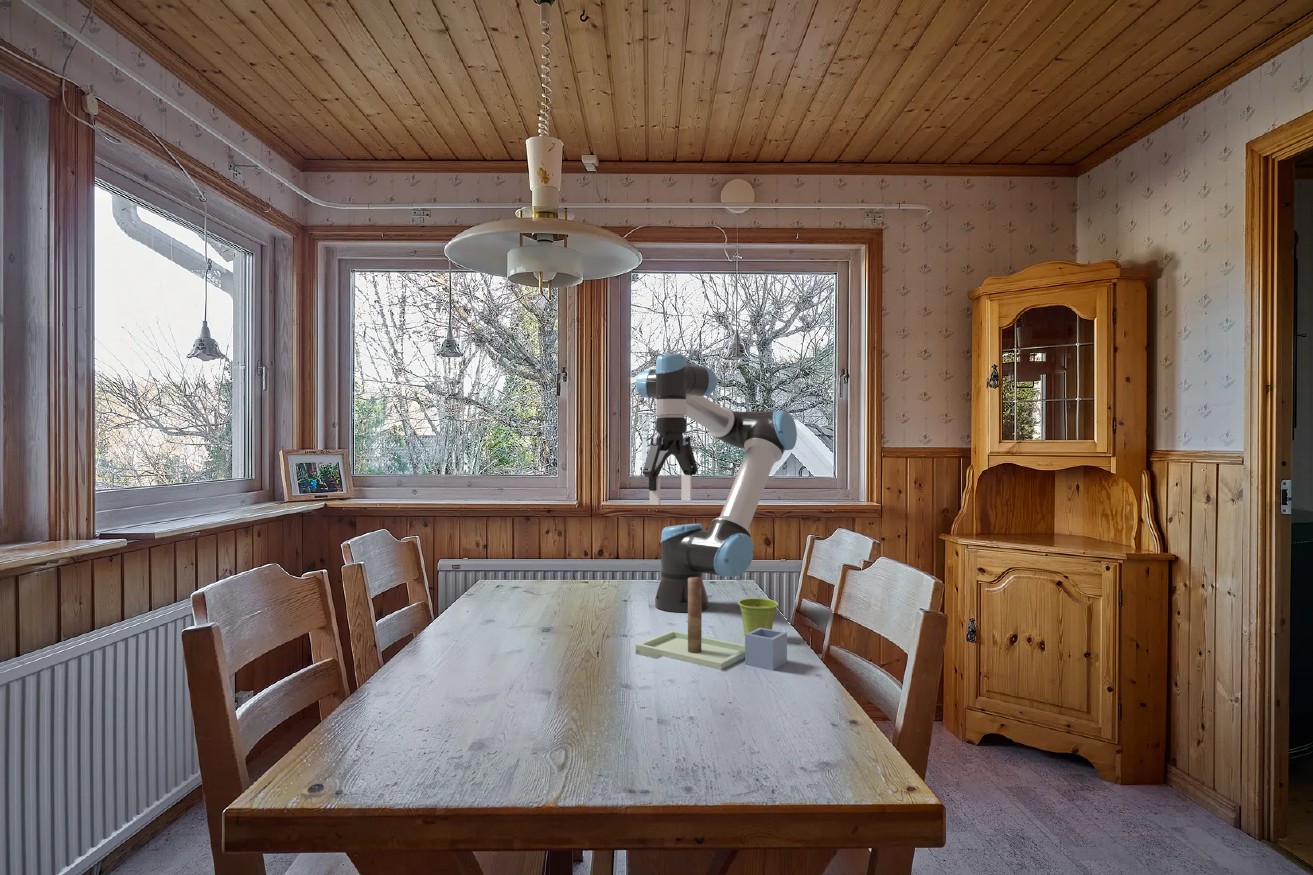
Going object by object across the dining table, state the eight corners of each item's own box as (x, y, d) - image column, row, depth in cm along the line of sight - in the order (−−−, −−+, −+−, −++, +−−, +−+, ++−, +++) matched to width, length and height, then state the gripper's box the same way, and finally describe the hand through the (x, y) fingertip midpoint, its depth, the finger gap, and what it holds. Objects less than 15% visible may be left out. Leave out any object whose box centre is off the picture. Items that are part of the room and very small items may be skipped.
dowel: (692, 648, 155) (692, 576, 155) (704, 650, 153) (704, 578, 153) (685, 651, 152) (685, 578, 152) (696, 653, 151) (696, 580, 151)
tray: (672, 638, 165) (672, 630, 165) (754, 655, 152) (754, 646, 152) (635, 653, 154) (635, 644, 154) (720, 673, 140) (720, 663, 141)
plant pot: (776, 634, 169) (776, 598, 169) (779, 645, 160) (779, 607, 160) (737, 633, 170) (737, 597, 170) (738, 644, 160) (738, 606, 160)
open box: (759, 660, 149) (759, 627, 149) (787, 665, 145) (787, 632, 145) (745, 667, 144) (745, 634, 144) (772, 674, 140) (772, 639, 140)
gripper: (686, 418, 185) (686, 498, 185) (627, 415, 165) (627, 505, 165) (710, 417, 180) (710, 499, 180) (653, 415, 160) (653, 507, 160)
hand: (671, 502), depth 172 cm, fingers open, 13 cm apart
